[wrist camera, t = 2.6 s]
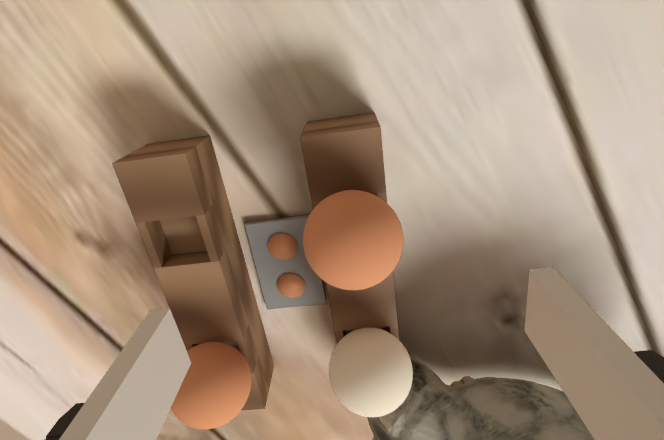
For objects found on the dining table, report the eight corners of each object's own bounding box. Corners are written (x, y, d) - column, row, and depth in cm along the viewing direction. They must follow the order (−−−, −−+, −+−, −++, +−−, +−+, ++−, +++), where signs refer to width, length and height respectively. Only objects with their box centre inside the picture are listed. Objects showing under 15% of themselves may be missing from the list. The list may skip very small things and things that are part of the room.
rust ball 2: (300, 182, 21) (287, 222, 16) (393, 170, 20) (407, 208, 16) (315, 261, 23) (307, 316, 18) (399, 252, 22) (413, 306, 18)
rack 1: (147, 144, 24) (112, 163, 20) (210, 135, 23) (185, 153, 20) (226, 369, 32) (211, 412, 28) (274, 365, 31) (264, 408, 28)
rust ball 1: (175, 328, 25) (138, 391, 21) (248, 321, 25) (227, 384, 20) (197, 382, 27) (168, 450, 23) (265, 377, 27) (249, 445, 22)
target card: (246, 222, 26) (244, 225, 25) (310, 214, 25) (309, 218, 25) (268, 305, 29) (266, 310, 28) (326, 300, 28) (325, 304, 28)
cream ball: (324, 314, 24) (320, 377, 20) (403, 306, 24) (417, 369, 19) (335, 371, 27) (334, 440, 22) (408, 365, 26) (421, 433, 22)
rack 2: (307, 122, 23) (300, 137, 19) (374, 112, 22) (380, 126, 19) (347, 359, 31) (347, 402, 27) (397, 355, 30) (404, 398, 27)
